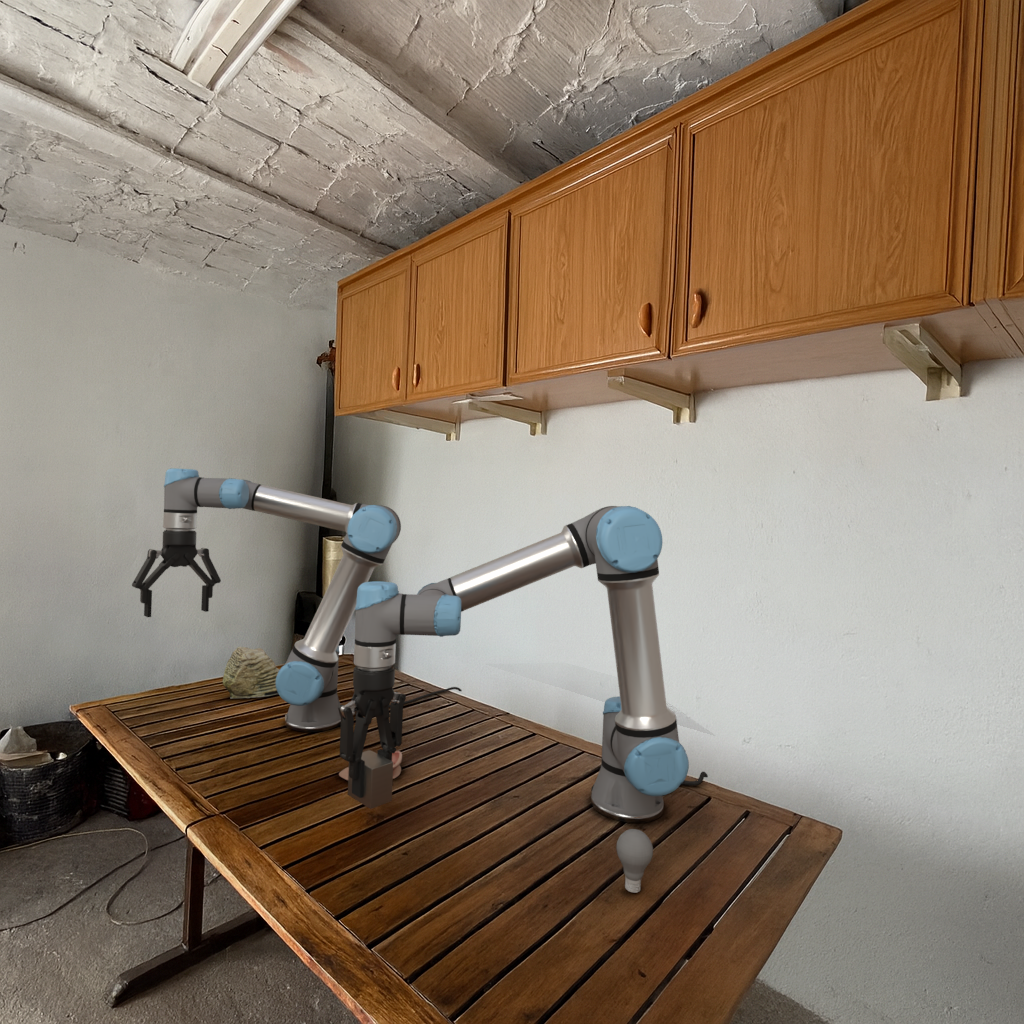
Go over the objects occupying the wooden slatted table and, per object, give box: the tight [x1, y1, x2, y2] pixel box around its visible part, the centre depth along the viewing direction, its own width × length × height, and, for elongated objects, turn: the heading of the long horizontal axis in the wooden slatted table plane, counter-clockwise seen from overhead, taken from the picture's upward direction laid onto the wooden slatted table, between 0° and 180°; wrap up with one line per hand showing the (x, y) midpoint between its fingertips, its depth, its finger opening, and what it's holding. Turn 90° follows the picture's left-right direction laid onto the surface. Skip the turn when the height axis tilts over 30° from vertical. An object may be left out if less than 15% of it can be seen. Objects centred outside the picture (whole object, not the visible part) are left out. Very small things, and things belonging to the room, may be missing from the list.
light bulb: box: [615, 828, 654, 894], centre depth 106 cm, size 6×6×10 cm
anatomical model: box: [338, 750, 403, 781], centre depth 146 cm, size 13×4×12 cm
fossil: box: [222, 646, 280, 699], centre depth 198 cm, size 9×18×15 cm, turn 132°
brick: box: [347, 749, 394, 810], centre depth 118 cm, size 8×5×7 cm, turn 47°
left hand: (177, 613), depth 160 cm, fingers open, 13 cm apart
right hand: (370, 790), depth 118 cm, fingers closed on brick, 5 cm apart
